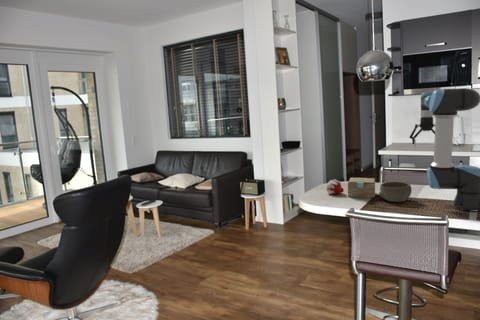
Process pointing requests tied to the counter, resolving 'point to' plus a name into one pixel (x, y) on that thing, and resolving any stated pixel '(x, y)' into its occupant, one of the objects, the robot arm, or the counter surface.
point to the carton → (361, 190)
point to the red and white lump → (334, 187)
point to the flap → (361, 181)
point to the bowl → (395, 191)
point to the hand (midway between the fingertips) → (426, 149)
